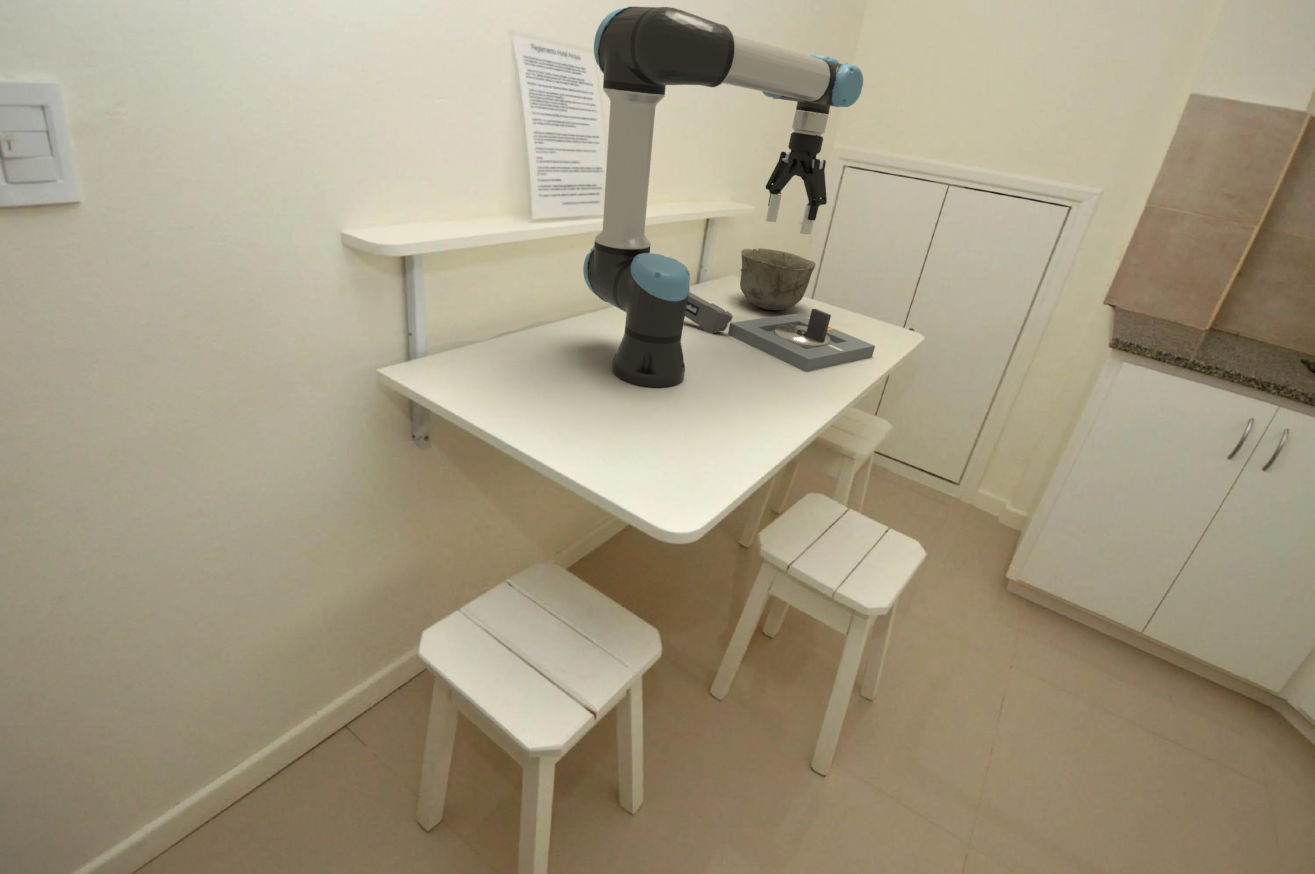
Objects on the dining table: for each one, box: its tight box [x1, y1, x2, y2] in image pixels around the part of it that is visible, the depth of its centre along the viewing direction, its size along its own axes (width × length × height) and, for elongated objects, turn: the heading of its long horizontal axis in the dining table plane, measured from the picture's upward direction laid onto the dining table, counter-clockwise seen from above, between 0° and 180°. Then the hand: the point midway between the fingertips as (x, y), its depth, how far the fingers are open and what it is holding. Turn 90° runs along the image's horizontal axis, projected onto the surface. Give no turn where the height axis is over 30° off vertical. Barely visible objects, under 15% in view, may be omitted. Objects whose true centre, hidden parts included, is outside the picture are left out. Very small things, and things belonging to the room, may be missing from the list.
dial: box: [774, 308, 832, 349], centre depth 164 cm, size 14×14×8 cm
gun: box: [685, 291, 734, 334], centre depth 170 cm, size 3×25×15 cm, turn 61°
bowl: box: [739, 247, 817, 311], centre depth 191 cm, size 22×22×15 cm
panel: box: [727, 313, 876, 372], centre depth 166 cm, size 26×26×3 cm
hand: (787, 227), depth 161 cm, fingers open, 13 cm apart
